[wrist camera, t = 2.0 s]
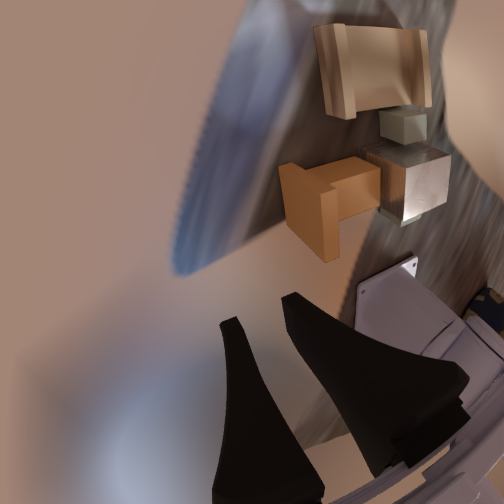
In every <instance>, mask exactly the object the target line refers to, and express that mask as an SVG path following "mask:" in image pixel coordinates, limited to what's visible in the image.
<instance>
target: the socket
mask: <svg viewBox="0 0 504 504" xmlns="http://www.w3.org/2000/svg"><path fill="white" fill-rule="evenodd" d="M379 122H380V136H382V137H384V138H387V139H390V140H393V141H395V142H398V143H401V144H403V145H406V144H410V143H414V142H419V141H423V140H426V114H424V113H421V112H417V111H413V110H410V109H406V108H402V107H401V108H394V109H387V110H380V111H379ZM380 214H382V215H383V216H385V217H386V218H388V219H389V220H391V221H392V222H394V223H395V224H397V225H398V226H400V227H402V226H404V225H407V224H409V223H411V222H413V221H415V220H418V219H420V218H421V214H419V215H417V216H414V217H412V218H410V219H408V220H405V221H401V220H400V219H398V218H397V217H395V216H394V215H392V214H391V213H389V212H388V211H386V210H384V209H383V208H381V207H380Z"/></svg>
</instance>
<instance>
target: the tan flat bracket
mask: <svg viewBox="0 0 504 504" xmlns="http://www.w3.org/2000/svg"><path fill="white" fill-rule="evenodd" d="M313 31H314V36H315V42H316V48H317V54H318V60H319V66H320V73H321V79H322V87H323V94H324V102H325V110H326V114H327V115H331V116H334V117H338V118H342V119H345V120H348V119H353V118H356V112H359V111H365V110H371V109H378V108H384V107H392V106H399V105H407V104H414V105H418V106H422V107H432V100H431V78H430V64H429V52H428V43H427V35H426V31H425V30H411V29H396V28H385V27H369V26H345V24H328V25H322V26H316V27H313Z"/></svg>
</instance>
